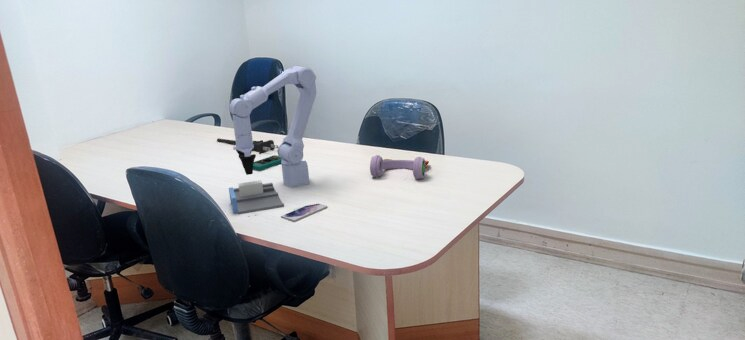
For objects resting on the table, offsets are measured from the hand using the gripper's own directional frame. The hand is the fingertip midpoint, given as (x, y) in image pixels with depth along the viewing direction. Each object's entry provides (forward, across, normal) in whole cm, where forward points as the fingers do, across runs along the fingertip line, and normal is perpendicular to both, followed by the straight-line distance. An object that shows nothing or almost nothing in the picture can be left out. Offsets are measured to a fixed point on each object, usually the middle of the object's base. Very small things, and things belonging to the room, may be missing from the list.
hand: (248, 171), depth 193 cm
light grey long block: (+9, 0, +2) cm, 9 cm away
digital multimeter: (+10, -34, +11) cm, 37 cm away
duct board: (+9, +6, +1) cm, 11 cm away
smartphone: (+10, +24, +14) cm, 29 cm away
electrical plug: (+10, -69, +6) cm, 70 cm away
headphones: (+10, 0, +58) cm, 59 cm away
